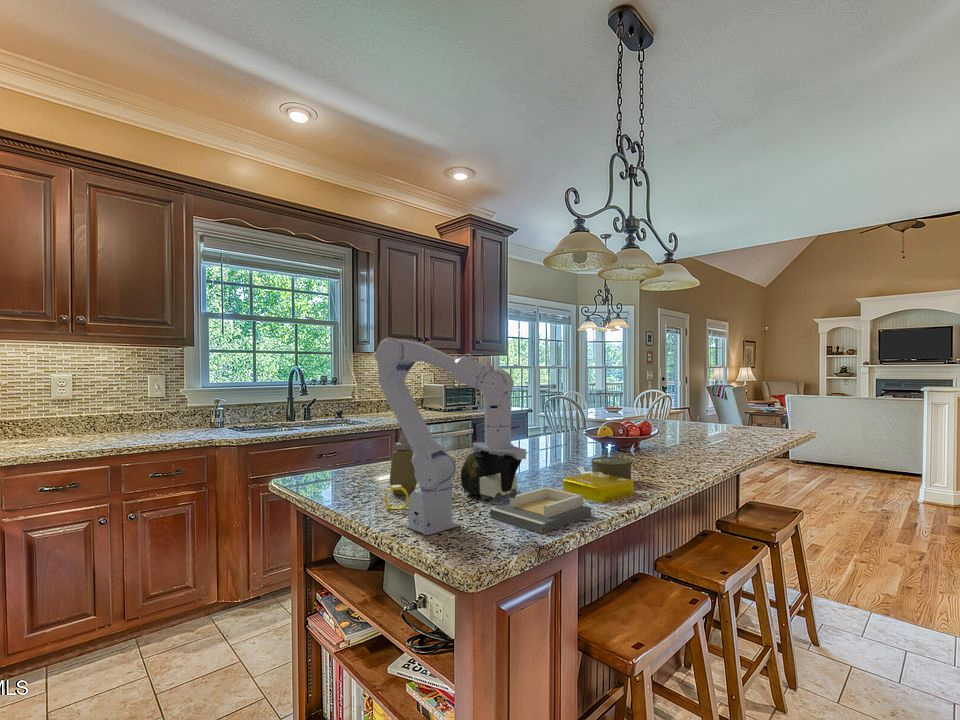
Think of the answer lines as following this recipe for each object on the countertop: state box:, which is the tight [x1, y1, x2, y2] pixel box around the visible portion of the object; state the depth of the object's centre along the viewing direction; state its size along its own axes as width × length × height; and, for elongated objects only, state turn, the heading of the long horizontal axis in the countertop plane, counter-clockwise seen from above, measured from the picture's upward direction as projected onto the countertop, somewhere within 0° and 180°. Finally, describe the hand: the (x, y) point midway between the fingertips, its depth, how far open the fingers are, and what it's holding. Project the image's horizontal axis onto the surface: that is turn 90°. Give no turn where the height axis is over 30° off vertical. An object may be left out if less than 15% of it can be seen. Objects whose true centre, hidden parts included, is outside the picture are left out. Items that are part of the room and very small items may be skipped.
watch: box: [384, 485, 409, 510], centre depth 120 cm, size 6×3×6 cm, turn 93°
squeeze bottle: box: [389, 429, 418, 496], centre depth 136 cm, size 8×8×18 cm
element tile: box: [562, 471, 635, 503], centre depth 134 cm, size 15×15×5 cm
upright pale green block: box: [480, 473, 518, 503], centre depth 102 cm, size 7×4×5 cm, turn 133°
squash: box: [460, 452, 504, 497], centre depth 135 cm, size 14×15×15 cm
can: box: [591, 456, 632, 480], centre depth 147 cm, size 12×12×7 cm
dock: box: [489, 486, 592, 534], centre depth 113 cm, size 18×16×4 cm
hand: (498, 488), depth 102 cm, fingers closed on upright pale green block, 4 cm apart
